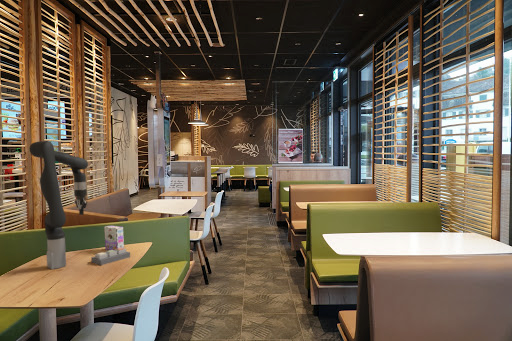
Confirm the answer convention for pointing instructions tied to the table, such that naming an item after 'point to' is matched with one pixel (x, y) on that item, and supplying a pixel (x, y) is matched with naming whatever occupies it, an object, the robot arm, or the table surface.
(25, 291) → the table surface
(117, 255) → the button board
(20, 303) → the table surface
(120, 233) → the candy box
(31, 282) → the table surface
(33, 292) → the table surface
